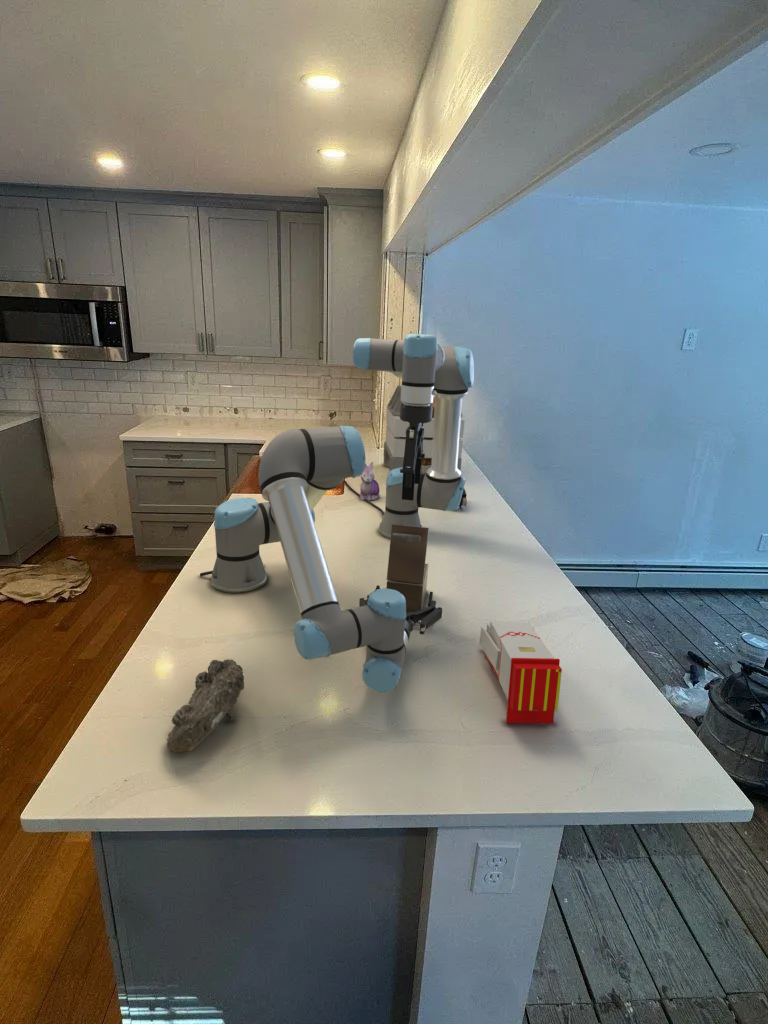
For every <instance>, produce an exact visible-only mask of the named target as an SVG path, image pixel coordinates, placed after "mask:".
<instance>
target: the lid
mask: <svg viewBox="0 0 768 1024" xmlns="http://www.w3.org/2000/svg"><path fill="white" fill-rule="evenodd" d="M429 528H430V527H425V526H422V527H415V526H406V525H396V524H392V529H391V539H389V541H390V542H389V551H388V562H387V572H386V580H387V581H388V580H393V581H401V582H409V583H418V584H423V581H424V571H425V564H426V559H427V550H428V548H427V547H428V539H429V530H430V529H429Z"/></svg>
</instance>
